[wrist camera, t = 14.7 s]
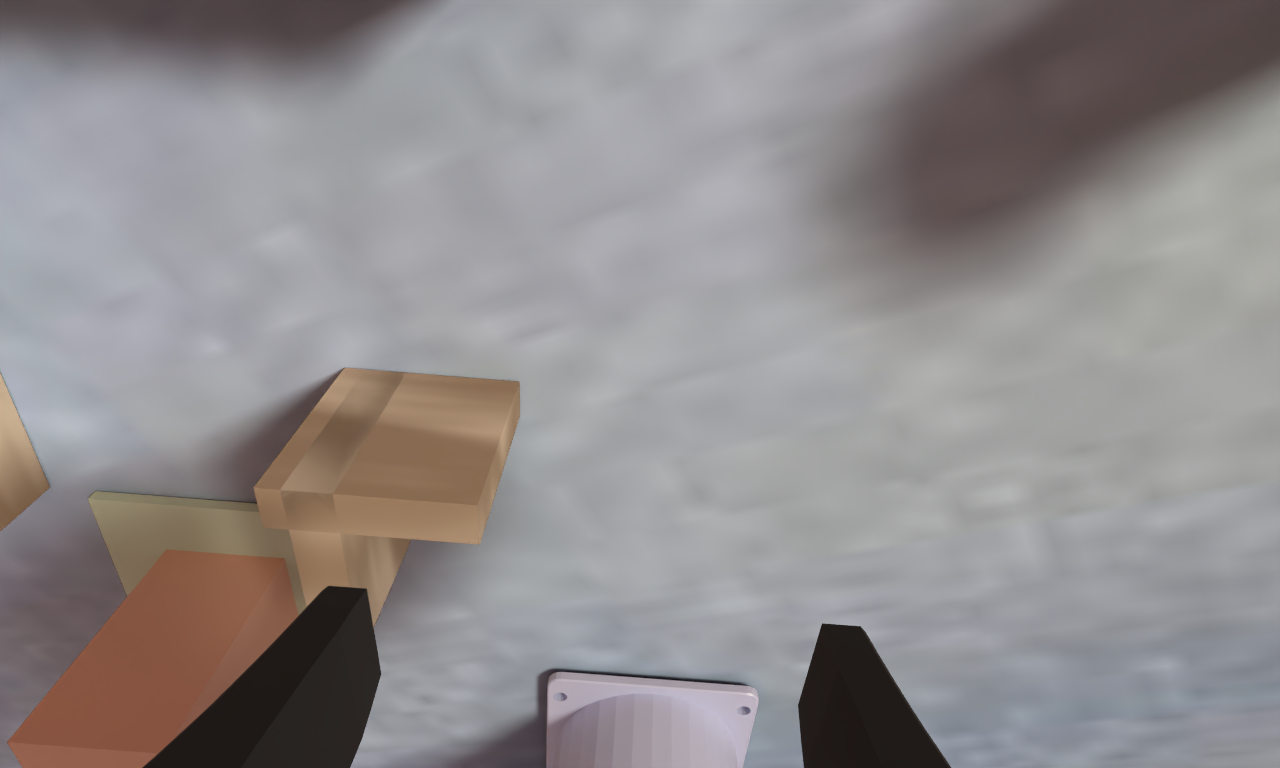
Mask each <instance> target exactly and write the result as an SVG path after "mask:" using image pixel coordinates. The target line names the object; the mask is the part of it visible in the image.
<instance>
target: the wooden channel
mask: <svg viewBox="0 0 1280 768" xmlns="http://www.w3.org/2000/svg"><path fill="white" fill-rule="evenodd" d="M519 417H520V386H519V382H516V381H504V380H491V379H479V378H466V377H454V376H441V375H429V374H416V373H404V372H391V371H378V370H366V369H353V368H344V369H343V371H342V372H341V373H340V374H339V376H338V377H337V378H336V380H335V381H334V382H333V384H332V385H331V386H330V388H329V389H328V390H327V392H326V393H325V394H324V396H323V397H322V398H321V399H320V401H319V402H318V403H317V405H316V406H315V407H314V409H313V410H312V411H311V413H310V414H309V415H308V417H307V418H306V419H305V421H304V422H303V423H302V424H301V426H300V427H299V428H298V430H297V431H296V432H295V434H294V435H293V436H292V438H291V439H290V440H289V442H288V443H287V444H286V446H285V447H284V448H283V449H282V451H281V452H280V453H279V455H278V456H277V457H276V459H275V460H274V461H273V463H272V464H271V465H270V467H269V468H268V469H267V471H266V472H265V473H264V474H263V476H262V477H261V478H260V480H259V481H258V482H257V484H256V485H255V486H254V492H255V496H256V500H257V504H258V508H259V512H260V516H261V520H262V524H263V528H275V529H287V530H289V532H290V536H291V541H292V545H293V550H294V554H295V558H296V563H297V567H298V571H299V576H300V580H301V584H302V589H303V593H304V597H305V602H306V606H308V605H309V604H310V603H311V602H312V601H313V600H314V599H315V598H316V596H317V595H318V594H319V593H320V592H321V591H322V590H323V589H325V588H326V587H327V586H339V587H352V588H365V589H367V592H368V598H369V604H370V610H371V616H372V622H373V628H374V626H375V623H376V621H377V619H378V616H379V614H380V612H381V609H382V607H383V605H384V602H385V600H386V598H387V595H388V593H389V591H390V588H391V586H392V584H393V581H394V579H395V577H396V574H397V572H398V570H399V567H400V565H401V563H402V560H403V558H404V556H405V554H406V551H407V549H408V547H409V544H410V542H411V540H412V539H416V540H429V541H442V542H455V543H468V544H480V542H481V539H482V535H483V532H484V529H485V526H486V523H487V520H488V516H489V513H490V510H491V507H492V504H493V500H494V497H495V494H496V491H497V488H498V484H499V481H500V478H501V475H502V472H503V468H504V465H505V462H506V459H507V456H508V452H509V449H510V446H511V443H512V440H513V436H514V433H515V430H516V427H517V424H518V420H519ZM49 488H50V486H49V484H48V482H47V479H46V477H45V475H44V472H43V470H42V468H41V466H40V463H39V461H38V459H37V456H36V454H35V452H34V449H33V447H32V445H31V443H30V440H29V438H28V436H27V433H26V431H25V429H24V426H23V424H22V422H21V420H20V417H19V415H18V413H17V410H16V408H15V406H14V404H13V401H12V399H11V397H10V394H9V392H8V390H7V387H6V385H5V383H4V381H3V378H2V376H1V374H0V531H1V530H2V529H3V528H5V527H6V526H7V525H8V524H9V523H10V522H11V521H12V520H14V519H15V518H16V517H17V516H18V515H19V514H20V513H22V512H23V511H24V510H25V509H26V508H27V507H28V506H29V505H31V504H32V503H33V502H34V501H35V500H36V499H37V498H39V497H40V496H41V495H42V494H43V493H44V492H45V491H46V490H48V489H49Z"/></svg>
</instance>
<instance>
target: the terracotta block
mask: <svg viewBox="0 0 1280 768" xmlns="http://www.w3.org/2000/svg"><path fill="white" fill-rule="evenodd" d="M298 616H299V615H298V611H297V607H296V603H295V598H294V594H293V590H292V586H291V582H290V578H289V574H288V570H287V566H286V561H285V558H273V557H260V556H247V555H233V554H220V553H207V552H194V551H180V550H167V549H166V550H165V552H164V553H163V554H162V555H161V556H160V558H159V559H158V560H157V561H156V563H155V564H154V565H153V566H152V567H151V569H150V570H149V571H148V572H147V573H146V575H145V576H144V577H143V578H142V580H141V581H140V582H139V583H138V584H137V586H136V587H135V588H134V589H133V590H132V592H131V593H130V594H129V595H128V596H127V598H126V599H125V600H124V601H123V603H122V604H121V605H120V606H119V607H118V609H117V610H116V611H115V612H114V613H113V615H112V616H111V617H110V618H109V619H108V621H107V622H106V623H105V624H104V626H103V627H102V628H101V629H100V630H99V632H98V633H97V634H96V635H95V636H94V638H93V639H92V640H91V641H90V643H89V644H88V645H87V646H86V647H85V649H84V650H83V651H82V652H81V653H80V655H79V656H78V657H77V658H76V659H75V661H74V662H73V663H72V664H71V666H70V667H69V668H68V669H67V670H66V672H65V673H64V674H63V675H62V676H61V678H60V679H59V680H58V681H57V682H56V684H55V685H54V686H53V687H52V689H51V690H50V691H49V692H48V693H47V695H46V696H45V697H44V698H43V699H42V701H41V702H40V703H39V704H38V706H37V707H36V708H35V709H34V710H33V712H32V713H31V714H30V715H29V716H28V718H27V719H26V720H25V721H24V722H23V724H22V725H21V726H20V727H19V729H18V730H17V731H16V732H15V733H14V735H13V736H12V737H11V738H10V739H9V741H8V742H7V743H8V745H9V746H10V748H11V750H12V751H13V753H14V754H15V756H16V758H17V759H18V761H19V763H20V764H21V766H22V767H23V768H142V767H143V766H145V765H146V764H147V763H148V762H149V761H150V760H151V759H153V758H154V757H155V756H156V755H157V754H158V753H159V752H160V751H161V750H162V749H164V748H165V747H166V746H167V745H168V744H169V743H170V742H171V741H172V740H173V739H174V738H176V737H177V736H178V735H179V734H180V733H181V732H182V731H183V730H184V729H185V728H186V727H188V726H189V725H190V724H191V723H192V722H193V721H194V720H195V719H196V718H197V717H198V716H200V715H201V714H202V713H203V712H204V711H205V710H206V709H207V708H208V707H209V706H210V705H211V704H212V703H213V702H214V701H215V700H216V699H217V698H218V697H219V696H220V695H221V694H222V693H223V692H224V691H225V690H226V689H227V688H228V687H229V686H230V685H231V684H232V683H233V682H235V681H236V680H237V679H238V678H239V677H240V676H241V675H242V674H243V673H244V672H245V671H246V670H247V669H248V668H249V667H250V666H251V665H252V664H253V663H254V662H255V661H256V660H257V659H258V658H259V657H260V655H261V654H262V653H263V652H264V651H265V650H266V649H267V648H268V647H269V646H270V645H271V644H272V643H273V642H274V641H275V640H276V639H277V638H278V637H279V636H280V635H281V634H282V633H283V632H284V631H285V629H286V628H287V627H288V626H289V625H290V624H291V623H292V622H293V621H294V620H295V619H296V618H297V617H298Z"/></svg>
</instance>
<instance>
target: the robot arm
mask: <svg viewBox="0 0 1280 768" xmlns="http://www.w3.org/2000/svg"><path fill="white" fill-rule="evenodd" d="M380 676H381V670H380V664H379V658H378V652H377V646H376V640H375V634H374V628H373V622H372V616H371V610H370V604H369V598H368V592H367V589H365V588H352V587H339V586H327V587H326V588H325V589H323V590H322V591H321V592H320V593H319V594H318V595H317V596H316V598H315V599H314V600H313V601H312V602H311V603H310V604H309V605H308V606H307V607H306V608H305V609H304V610H303V611H302V612H301V614H300V615H299V616H298V617H297V618H296V619H295V620H294V621H293V622H292V623H291V624H290V625H289V626H288V627H287V628H286V629H285V631H284V632H283V633H282V634H281V635H280V636H279V637H278V638H277V639H276V640H275V641H274V642H273V643H272V644H271V645H270V646H269V647H268V648H267V649H266V650H265V651H264V652H263V653H262V654H261V655H260V657H259V658H258V659H257V660H256V661H255V662H254V663H253V664H252V665H251V666H250V667H249V668H248V669H247V670H246V671H245V672H244V673H243V674H242V675H241V676H240V677H239V678H238V679H237V680H236V681H235V682H233V683H232V684H231V685H230V686H229V687H228V688H227V689H226V690H225V691H224V692H223V693H222V694H221V695H220V696H219V697H218V698H217V699H216V700H215V701H214V702H213V703H212V704H211V705H210V706H209V707H208V708H207V709H206V710H205V711H204V712H203V713H202V714H201V715H200V716H198V717H197V718H196V719H195V720H194V721H193V722H192V723H191V724H190V725H189V726H188V727H186V728H185V729H184V730H183V731H182V732H181V733H180V734H179V735H178V736H177V737H176V738H174V739H173V740H172V741H171V742H170V743H169V744H168V745H167V746H166V747H165V748H164V749H162V750H161V751H160V752H159V753H158V754H157V755H156V756H155V757H154V758H153V759H151V760H150V761H149V762H148V763H147V764H146V765H145V766H143V767H142V768H350V766H351V764H352V762H353V759H354V757H355V754H356V752H357V750H358V747H359V745H360V742H361V740H362V737H363V733H364V730H365V727H366V724H367V720H368V717H369V714H370V711H371V707H372V704H373V700H374V697H375V693H376V690H377V686H378V683H379V679H380ZM758 703H759V700H758V692H757V691H756V689H754V688H752V687H750V686H743V685H729V684H716V683H703V682H690V681H677V680H663V679H650V678H637V677H624V676H611V675H598V674H584V673H571V672H556V673H553V674H552V675H551V676H549V679H548V685H547V747H546V768H742V767H743V763H744V759H745V755H746V751H747V747H748V743H749V739H750V735H751V731H752V727H753V723H754V719H755V715H756V711H757V707H758ZM798 709H799V720H800V732H801V743H802V752H803V762H804V768H951V767H950V765H949V764H948V762H947V761H946V759H945V758H944V756H943V755H942V753H941V752H940V750H939V749H938V747H937V746H936V744H935V743H934V742H933V740H932V739H931V737H930V736H929V734H928V733H927V731H926V730H925V728H924V727H923V725H922V724H921V722H920V721H919V719H918V717H917V716H916V714H915V713H914V711H913V710H912V708H911V707H910V705H909V703H908V702H907V700H906V699H905V697H904V695H903V694H902V692H901V691H900V689H899V687H898V686H897V684H896V683H895V681H894V679H893V678H892V676H891V674H890V673H889V671H888V669H887V668H886V666H885V664H884V663H883V661H882V659H881V658H880V656H879V654H878V653H877V651H876V649H875V648H874V646H873V644H872V642H871V641H870V639H869V637H868V636H867V634H866V632H865V631H864V630H863V629H862V628H861V626H848V625H835V624H822V626H821V629H820V633H819V636H818V639H817V643H816V646H815V650H814V653H813V656H812V660H811V663H810V667H809V670H808V673H807V677H806V680H805V684H804V687H803V690H802V694H801V697H800V701H799V704H798Z"/></svg>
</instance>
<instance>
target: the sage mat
mask: <svg viewBox="0 0 1280 768" xmlns="http://www.w3.org/2000/svg"><path fill="white" fill-rule="evenodd" d="M88 501H89V504H90V506H91V509H92V511H93V514H94V516H95V519H96V521H97V523H98V526H99V528H100V531H101V533H102V536H103V538H104V541H105V543H106V546H107V548H108V551H109V553H110V555H111V558H112V560H113V563H114V565H115V568H116V570H117V573H118V575H119V578H120V580H121V583H122V585H123V587H124V590H125V592H126V595H127V596H128V595H129V594H130V593H131V592H132V590H133V589H134V588H135V587H136V586H137V584H138V583H139V582H140V581H141V580H142V578H143V577H144V576H145V575H146V573H147V572H148V571H149V570H150V569H151V567H152V566H153V565H154V564H155V563H156V561H157V560H158V559H159V558H160V556H161V555H162V554H163V553H164V552H165V550H166V549H167V550H180V551H194V552H207V553H220V554H233V555H247V556H260V557H273V558H285V561H286V566H287V570H288V574H289V578H290V582H291V586H292V590H293V594H294V598H295V603H296V607H297V611H298V615H300V614H301V612H302V611H303V610H304V609H305V608H306V607H307V606H306V602H305V597H304V593H303V589H302V584H301V580H300V576H299V571H298V567H297V563H296V558H295V554H294V550H293V545H292V541H291V536H290V532H289V530H287V529H275V528H263V524H262V520H261V516H260V512H259V508H258V504H256V503H243V502H230V501H217V500H204V499H191V498H179V497H166V496H153V495H140V494H127V493H114V492H101V491H95V492H94V493H93V494H92V495H91V496H90V497H89V498H88Z"/></svg>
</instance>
